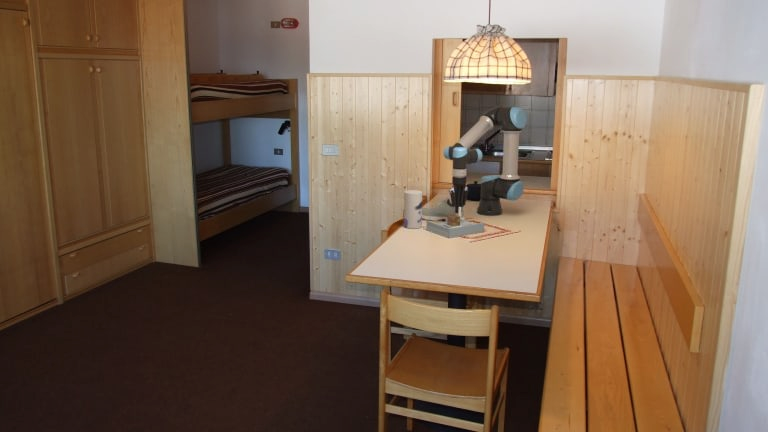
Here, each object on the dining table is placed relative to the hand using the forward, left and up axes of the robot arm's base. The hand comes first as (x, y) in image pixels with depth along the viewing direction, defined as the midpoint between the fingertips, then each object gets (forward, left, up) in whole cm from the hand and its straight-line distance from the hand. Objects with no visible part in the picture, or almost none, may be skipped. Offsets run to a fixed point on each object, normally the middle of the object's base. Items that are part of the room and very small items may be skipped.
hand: (458, 218), depth 362 cm
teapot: (-61, -54, -7) cm, 82 cm away
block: (+3, 0, -3) cm, 5 cm away
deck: (+3, +2, -6) cm, 7 cm away
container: (+17, -18, -7) cm, 26 cm away
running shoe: (-6, -22, -7) cm, 24 cm away
